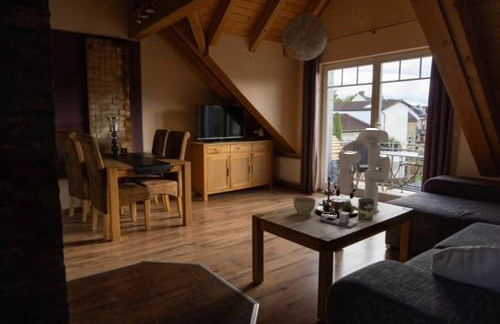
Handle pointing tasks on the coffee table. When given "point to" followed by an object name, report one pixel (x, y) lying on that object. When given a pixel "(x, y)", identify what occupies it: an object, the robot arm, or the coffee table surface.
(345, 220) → the light grey block
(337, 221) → the dark grey flat plate
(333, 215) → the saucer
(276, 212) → the coffee table surface
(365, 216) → the coffee can
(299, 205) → the planter bowl
